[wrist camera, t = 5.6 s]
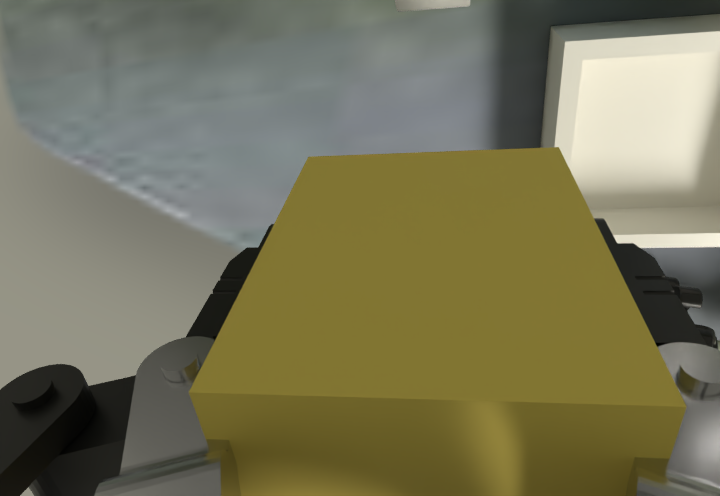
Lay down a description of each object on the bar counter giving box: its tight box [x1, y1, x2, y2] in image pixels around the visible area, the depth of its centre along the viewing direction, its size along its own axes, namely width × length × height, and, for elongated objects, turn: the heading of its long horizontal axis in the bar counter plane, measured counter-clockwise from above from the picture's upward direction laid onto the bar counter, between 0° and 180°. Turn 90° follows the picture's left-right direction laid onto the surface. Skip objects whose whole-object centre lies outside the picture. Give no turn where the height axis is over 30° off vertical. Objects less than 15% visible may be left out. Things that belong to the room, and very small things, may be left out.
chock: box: [189, 147, 687, 496], centre depth 10 cm, size 6×5×6 cm
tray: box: [540, 14, 720, 248], centre depth 23 cm, size 9×9×3 cm
